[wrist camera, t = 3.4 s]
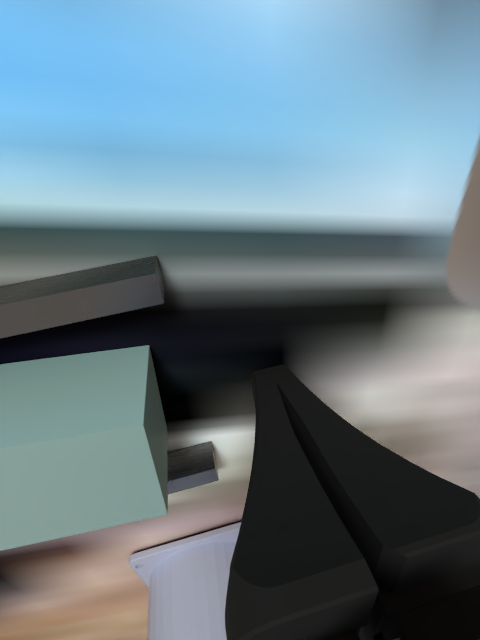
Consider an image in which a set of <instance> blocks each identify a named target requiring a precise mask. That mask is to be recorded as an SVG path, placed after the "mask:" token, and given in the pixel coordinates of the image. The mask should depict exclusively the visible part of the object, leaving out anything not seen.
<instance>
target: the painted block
mask: <svg viewBox="0 0 480 640" xmlns="http://www.w3.org/2000/svg"><path fill="white" fill-rule="evenodd" d="M167 514H168V485H167V426H166V422H165V417H164V412H163V408H162V403H161V398H160V393H159V389H158V384H157V379H156V375H155V370H154V365H153V360H152V356H151V351H150V346H149V345H147V346H140V347H132V348H124V349H116V350H109V351H101V352H93V353H85V354H78V355H70V356H62V357H54V358H47V359H39V360H31V361H24V362H16V363H8V364H0V551H1V550H6V549H11V548H15V547H20V546H24V545H29V544H34V543H38V542H43V541H47V540H52V539H57V538H61V537H66V536H71V535H75V534H80V533H84V532H89V531H94V530H98V529H103V528H107V527H112V526H117V525H121V524H126V523H130V522H135V521H140V520H144V519H149V518H153V517H158V516H163V515H167Z"/></svg>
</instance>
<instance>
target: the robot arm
mask: <svg viewBox="0 0 480 640" xmlns="http://www.w3.org/2000/svg"><path fill="white" fill-rule="evenodd" d="M251 382H252V388H253V395H254V402H255V408H256V428H255V444H254V454H253V462H252V470H251V476H250V482H249V488H248V494H247V499H246V503H245V508H244V512H243V517H242V522H239V523H236V524H232V525H229V526H225V527H222V528H219V529H215V530H212V531H208V532H205V533H202V534H198V535H195V536H191V537H188V538H185V539H181V540H178V541H174V542H171V543H168V544H164V545H161V546H157V547H154V548H151V549H147V550H144V551H140V552H137V553H134V554H132V555H131V556H130V557H129V565H130V567H131V568H132V569H133V570H134V571H135V572H136V574H137V575H138V576H139V577H140V578H141V580H142V581H143V582H144V583H145V584H146V586H147V587H148V588H149V601H148V630H147V640H480V499H479V498H478V496H477V495H476V494H475V493H473V492H471V491H468V490H466V489H464V488H462V487H460V486H458V485H455V484H453V483H451V482H449V481H447V480H445V479H442V478H440V477H438V476H436V475H434V474H432V473H430V472H428V471H426V470H424V469H423V468H421V467H419V466H417V465H415V464H413V463H411V462H409V461H408V460H406V459H404V458H403V457H401V456H399V455H397V454H396V453H394V452H392V451H391V450H389V449H387V448H385V447H384V446H382V445H380V444H379V443H377V442H376V441H374V440H373V439H371V438H370V437H368V436H367V435H365V434H364V433H362V432H361V431H359V430H358V429H356V428H355V427H354V426H352V425H351V424H350V423H348V422H347V421H346V420H344V419H343V418H342V417H340V416H339V415H338V414H337V413H335V412H334V411H333V410H332V409H330V408H329V407H328V406H327V405H326V404H324V403H323V402H322V401H321V400H320V399H319V398H318V397H317V396H315V395H314V394H313V393H312V392H311V391H310V390H309V389H308V388H307V387H306V386H305V385H304V384H303V383H302V382H301V381H300V380H299V379H298V378H297V377H296V376H295V375H294V374H293V373H292V372H291V371H290V370H289V369H288V368H287V366H285V365H284V364H283V365H278V366H274V367H270V368H266V369H262V370H258V371H254V372H252V373H251Z"/></svg>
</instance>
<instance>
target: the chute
mask: <svg viewBox="0 0 480 640" xmlns="http://www.w3.org/2000/svg"><path fill="white" fill-rule="evenodd" d="M159 304H164V280H163V276H162V273H161V270H160V266H159V263H158V260H157V256H153V257H148V258H143V259H137V260H132V261H127V262H122V263H117V264H112V265H107V266H102V267H97V268H92V269H87V270H82V271H77V272H72V273H66V274H61V275H56V276H51V277H46V278H41V279H36V280H31V281H26V282H21V283H16V284H11V285H6V286H1V287H0V338H5V337H10V336H14V335H19V334H24V333H28V332H33V331H38V330H42V329H47V328H52V327H56V326H61V325H66V324H71V323H75V322H80V321H85V320H89V319H94V318H99V317H103V316H108V315H113V314H117V313H122V312H127V311H131V310H136V309H141V308H145V307H150V306H155V305H159ZM218 480H219V479H218V472H217V466H216V459H215V453H214V449H213V446H212V443H211V442H207V443H203V444H199V445H196V446H192V447H188V448H184V449H181V450H177V451H173V452H169V453H167V485H168V494H171V493H175V492H178V491H182V490H185V489H189V488H193V487H196V486H200V485H203V484H207V483H211V482H214V481H218Z"/></svg>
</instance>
